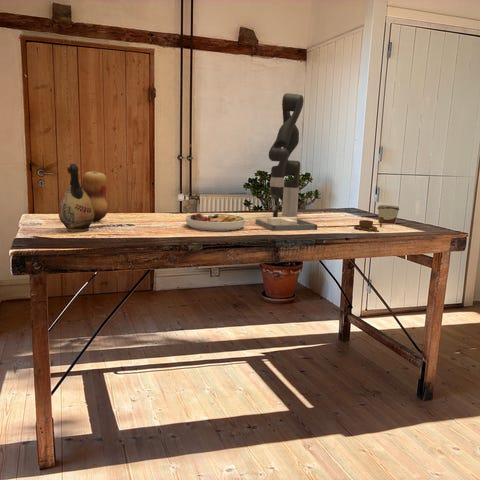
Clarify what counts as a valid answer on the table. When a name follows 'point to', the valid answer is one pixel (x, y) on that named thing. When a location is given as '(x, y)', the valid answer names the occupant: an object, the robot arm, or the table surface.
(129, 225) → the table surface
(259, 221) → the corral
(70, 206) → the ceramic jug
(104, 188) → the brown hourglass-shaped piece
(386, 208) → the food container
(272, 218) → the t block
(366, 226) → the place setting
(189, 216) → the bowl
